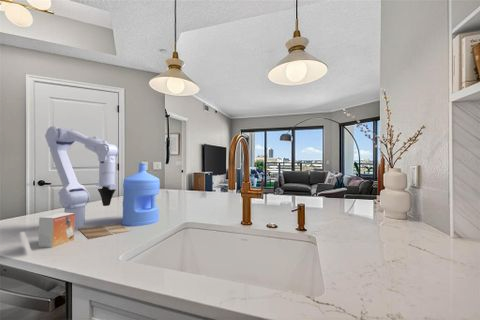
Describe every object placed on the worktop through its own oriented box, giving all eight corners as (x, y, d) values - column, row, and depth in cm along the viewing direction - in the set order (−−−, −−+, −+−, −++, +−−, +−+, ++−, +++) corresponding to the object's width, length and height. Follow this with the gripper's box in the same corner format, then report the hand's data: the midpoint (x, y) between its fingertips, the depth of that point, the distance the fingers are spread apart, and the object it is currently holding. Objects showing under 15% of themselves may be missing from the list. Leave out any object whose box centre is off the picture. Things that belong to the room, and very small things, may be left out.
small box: (51, 251, 72) (52, 218, 73) (37, 250, 74) (38, 217, 74) (74, 243, 80) (75, 212, 80) (61, 241, 81) (62, 211, 82)
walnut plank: (78, 231, 92) (78, 228, 92) (100, 228, 98) (100, 225, 98) (88, 241, 81) (89, 238, 81) (113, 237, 87) (113, 234, 87)
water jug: (113, 226, 101) (115, 163, 101) (139, 218, 116) (140, 163, 116) (143, 230, 97) (144, 163, 97) (165, 221, 112) (167, 163, 112)
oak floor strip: (101, 228, 98) (101, 225, 98) (117, 225, 103) (117, 223, 103) (114, 237, 87) (114, 234, 87) (131, 233, 92) (131, 230, 92)
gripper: (91, 172, 97) (90, 204, 97) (101, 173, 87) (100, 209, 87) (109, 171, 102) (108, 202, 102) (121, 173, 92) (120, 207, 92)
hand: (106, 205), depth 95 cm, fingers closed
